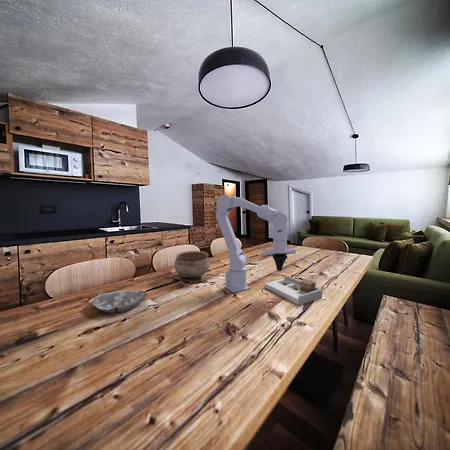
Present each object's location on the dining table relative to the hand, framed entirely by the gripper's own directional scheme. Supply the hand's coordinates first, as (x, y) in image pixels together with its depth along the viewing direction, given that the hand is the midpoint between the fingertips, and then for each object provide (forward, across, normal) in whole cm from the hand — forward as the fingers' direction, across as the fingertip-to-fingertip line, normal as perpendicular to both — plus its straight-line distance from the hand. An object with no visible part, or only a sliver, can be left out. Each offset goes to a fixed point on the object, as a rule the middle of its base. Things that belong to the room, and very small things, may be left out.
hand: (279, 270), depth 96 cm
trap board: (+10, -6, 0) cm, 12 cm away
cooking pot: (+11, +36, -28) cm, 48 cm away
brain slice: (+11, +66, -1) cm, 67 cm away
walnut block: (+8, -12, +4) cm, 15 cm away
